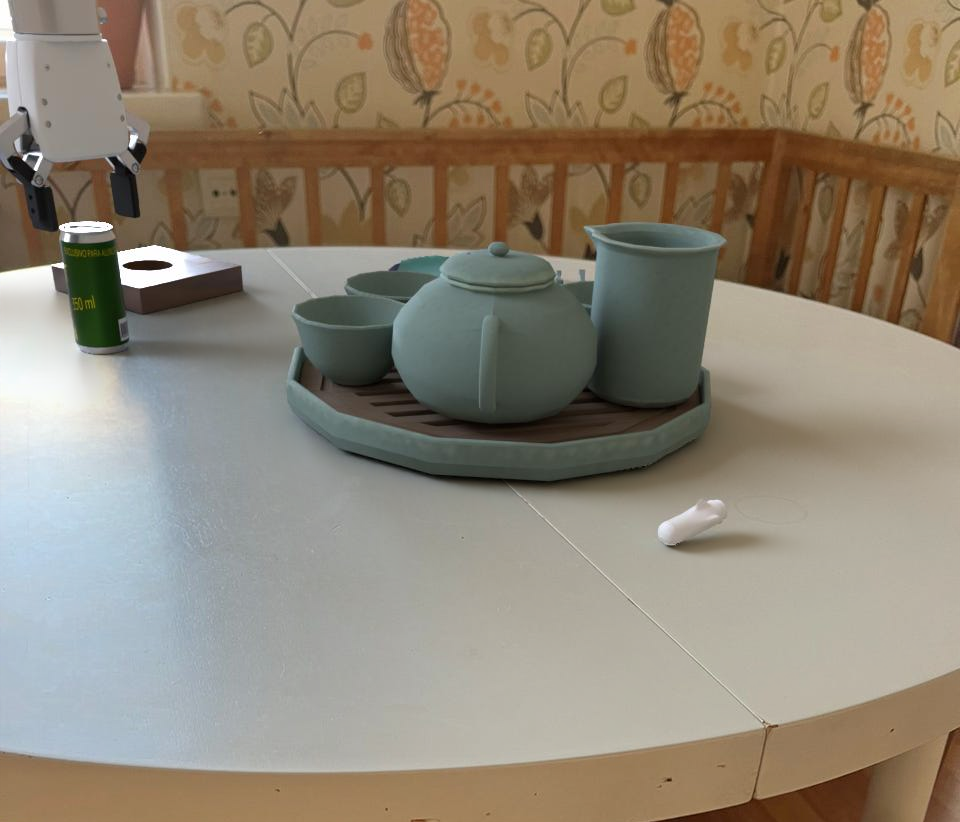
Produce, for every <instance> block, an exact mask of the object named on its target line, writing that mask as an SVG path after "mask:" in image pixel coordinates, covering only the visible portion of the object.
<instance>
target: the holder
mask: <svg viewBox="0 0 960 822" xmlns="http://www.w3.org/2000/svg"><path fill="white" fill-rule="evenodd" d="M118 257H119V265H120V272H121V280H122V287H123V294H124V302H125V309H126V311H129V312H132V313H137V314H140V315H146V314H150V313H154V312H159V311H163V310H166V309H171V308H175V307H179V306H184V305H188V304H192V303H196V302H199V301H200V302H201V301H203V300H208V299H212V298H216V297H220V296H225V295H228V294H233V293H237V292H240V291H243V290H244V282H243V269H242V268H243V267H242V265H241V264H236V263H232V262H229V261H224V260H219V259H214V258H210V257H205V256H202V255H197V254H193V253H188V252H184V251H180V250H175V249H172V248H168V247H167V248H166V247H162V246H158V245H151V246H147V247H140V248H135V249H130V250H129V249H128V250H125V251H120V252H118ZM50 267H51V273H52V278H53V284H54V290H55V291H57V292H61V293H64V294H68V291H67V285H66V279H65V273H64V267H63V262H61V263H55V264H51V265H50Z"/></svg>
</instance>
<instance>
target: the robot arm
mask: <svg viewBox="0 0 960 822" xmlns="http://www.w3.org/2000/svg"><path fill="white" fill-rule="evenodd" d="M7 4H8V8H9V9H8V10H9V15H10V20H11V26H12V31H13V35H14V36H13V37H14V38H7V39H6V42H5V79H6V80H5V82H6V84H5V85H6V94H7V103H8V112H9V118H8V119H7V120H6V121H4V122H2V124H1V125H0V162H1V165H2V167H3V168H4V169H5V170H6V171H8V172H9V173H10V175H12V176H13V177H14V178H15V180H16V182H17V183H18V184H20V185H23V191H24V197H25V202H26V207H27V212H28V217H29V219H30V221H31V224H32V227H33V228H34V229H35V230H39V231H43V232H47V233H48V232H49V233H56V232H58V231H59V230H60V225H59V219H58V216H57V209H56V203H55V198H54V192H53V189H52V187H51V186H50V185H46V181H47V180H48V178H49V176H50V174H51V171H52V168H53V166H54V164H55V163H68V162H77V161H85V160H86V161H88V160H96V159H105V161H107V163H108V164H109V165H110V166H111V167H112V169H113V170H114V171H111V172H109V181H110V188H111V195H112V202H113V208H114V209H113V210H114V213H115V214H116V215H117V216H121V217H126V218H132V219H138V218H140V217H141V209H140V199H139V190H138V183H137V175H139V174H140V173H141V164H142V162H143V160H144V158H145V157H146V155H147V150H148V149H147V145H148V142H149V138H150V134H151V133H150V132H151V125H150V123H149V122H148V121H146V120H144V119H142V118H141V117H139V116H137V115H136V114H134V113H132V112H130V111H129V110H127V109H126V108H125V103H124V99H123V94H122V89H121V83H120V80H119V75H118V72H117V68H116V64H115V62H114V57H113V55H112V51H111V48H110V45H109V43H108V40H107V39H103V36H102V35H103V34H102V27H101V25H102V24H103V25H104V24H106V23H107V22H108V13H107V11H106V9H105V8H104V7H101V6H100V7H98V0H7ZM129 133H130V136H129ZM129 139H130V140H129ZM17 153H18V154H17ZM19 155H20V156H19Z"/></svg>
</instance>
